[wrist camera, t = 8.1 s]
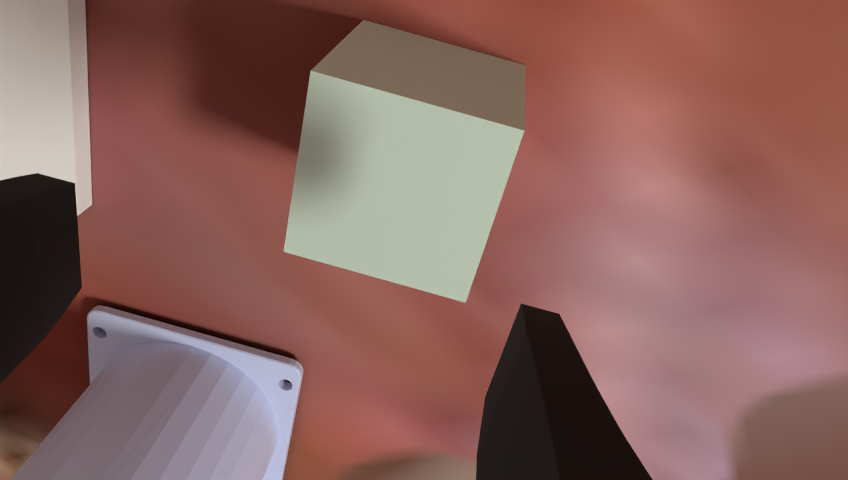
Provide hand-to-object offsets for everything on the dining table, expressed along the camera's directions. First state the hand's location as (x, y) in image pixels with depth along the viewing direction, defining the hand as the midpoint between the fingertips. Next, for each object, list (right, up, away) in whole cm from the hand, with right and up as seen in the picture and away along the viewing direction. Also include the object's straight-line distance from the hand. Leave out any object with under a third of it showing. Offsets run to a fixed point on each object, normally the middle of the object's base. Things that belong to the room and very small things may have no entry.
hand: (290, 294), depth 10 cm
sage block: (+2, +4, +8) cm, 10 cm away
